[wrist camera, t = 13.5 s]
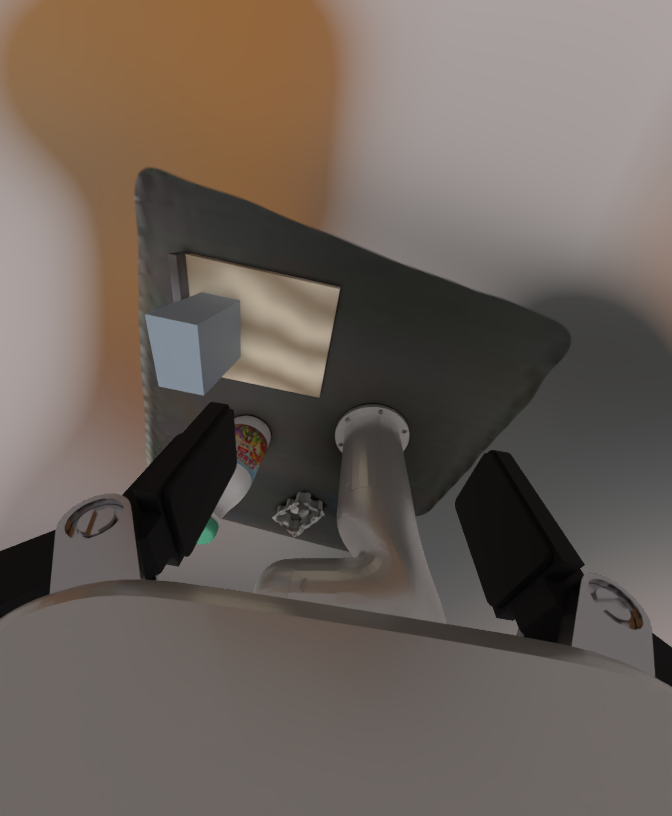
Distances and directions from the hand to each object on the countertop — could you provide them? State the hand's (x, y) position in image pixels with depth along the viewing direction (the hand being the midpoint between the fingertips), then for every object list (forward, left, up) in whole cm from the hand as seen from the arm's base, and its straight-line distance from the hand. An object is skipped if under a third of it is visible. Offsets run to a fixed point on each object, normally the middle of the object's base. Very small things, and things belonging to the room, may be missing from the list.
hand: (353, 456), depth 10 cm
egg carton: (-45, +2, -30) cm, 54 cm away
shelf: (-7, +13, -30) cm, 33 cm away
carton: (-7, +18, -28) cm, 34 cm away
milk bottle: (-26, +14, -30) cm, 42 cm away
